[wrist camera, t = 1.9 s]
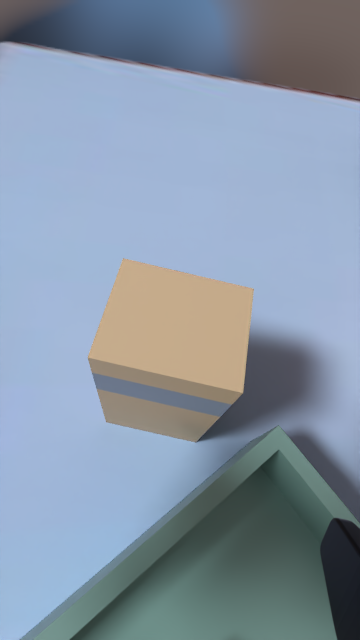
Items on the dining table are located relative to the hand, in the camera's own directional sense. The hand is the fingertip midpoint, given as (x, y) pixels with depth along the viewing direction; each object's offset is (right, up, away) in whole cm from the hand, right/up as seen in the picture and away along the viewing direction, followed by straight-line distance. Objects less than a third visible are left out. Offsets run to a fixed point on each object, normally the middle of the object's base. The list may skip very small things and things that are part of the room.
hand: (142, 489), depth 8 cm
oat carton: (0, -1, +14) cm, 14 cm away
